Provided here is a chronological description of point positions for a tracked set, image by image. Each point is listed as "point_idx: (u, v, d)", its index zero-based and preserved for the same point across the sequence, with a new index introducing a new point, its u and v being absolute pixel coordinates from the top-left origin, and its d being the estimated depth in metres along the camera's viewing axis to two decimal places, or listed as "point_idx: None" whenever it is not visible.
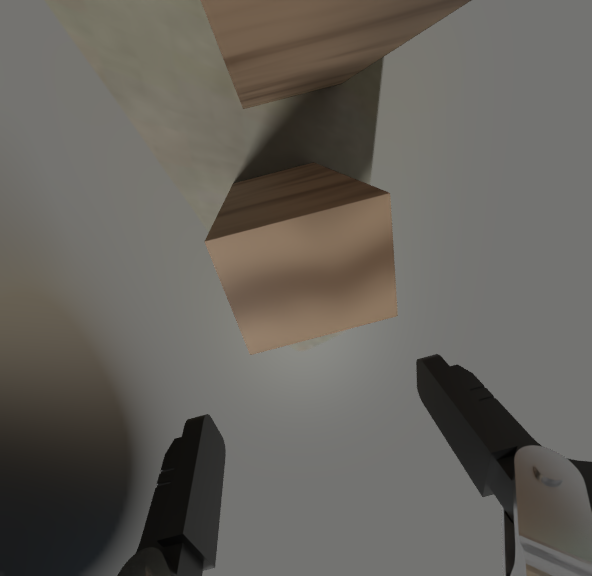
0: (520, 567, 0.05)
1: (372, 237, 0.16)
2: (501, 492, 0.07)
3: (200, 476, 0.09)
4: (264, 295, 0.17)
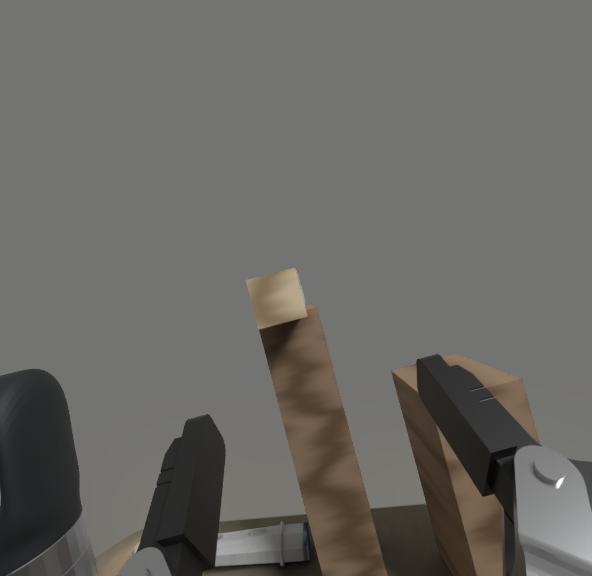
0: (520, 567, 0.05)
1: (412, 368, 0.33)
2: (502, 493, 0.07)
3: (200, 476, 0.09)
4: None
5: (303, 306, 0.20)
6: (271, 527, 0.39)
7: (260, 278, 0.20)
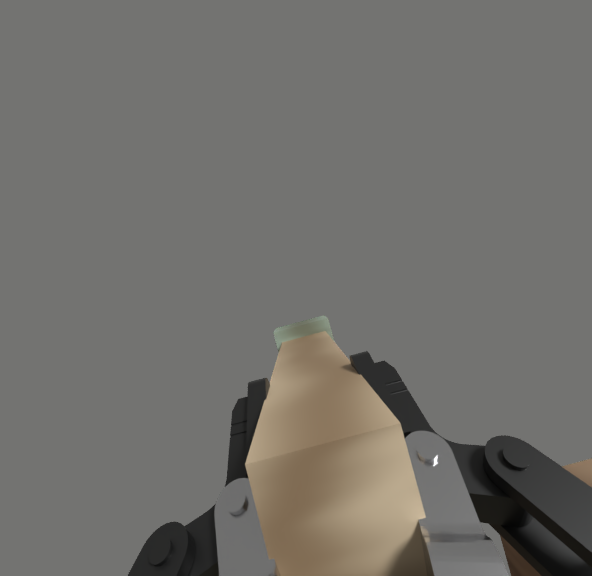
0: (427, 559, 0.06)
1: None
2: None
3: None
4: None
5: None
6: None
7: (291, 457, 0.06)
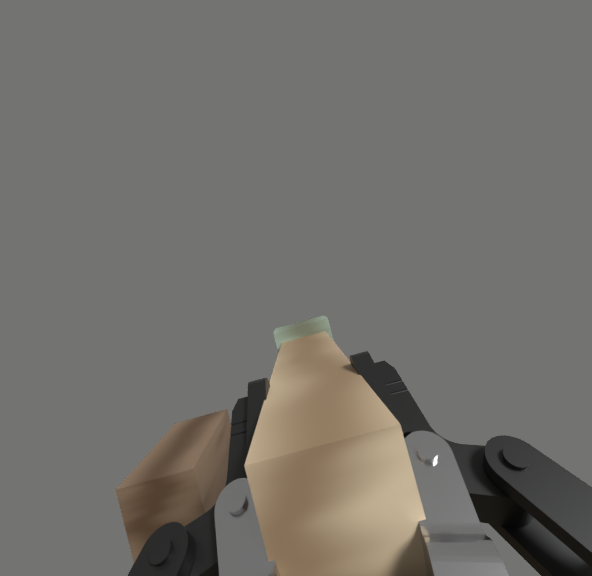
0: (427, 559, 0.06)
1: None
2: None
3: None
4: None
5: None
6: None
7: (290, 458, 0.06)
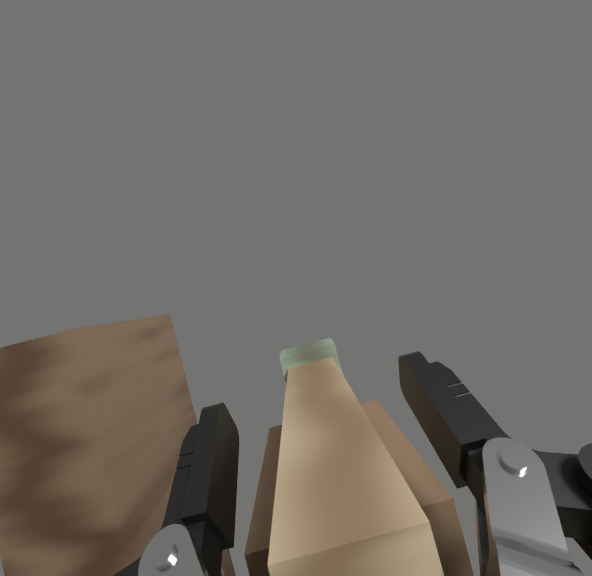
0: (493, 560, 0.05)
1: None
2: (473, 483, 0.08)
3: (218, 460, 0.09)
4: None
5: None
6: None
7: (315, 558, 0.06)
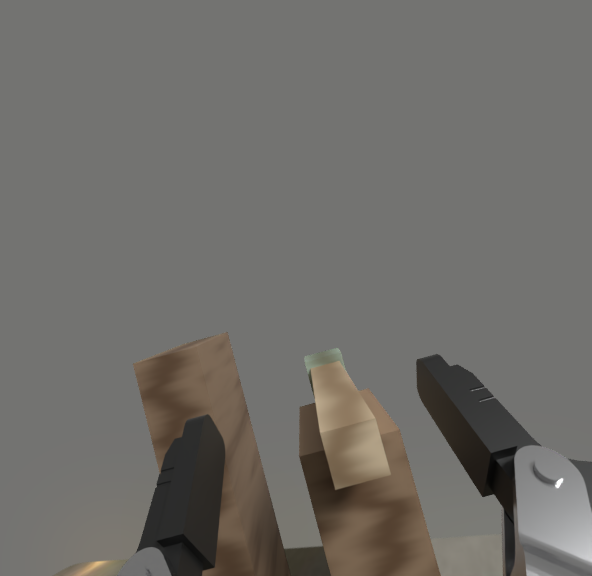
0: (520, 567, 0.05)
1: None
2: (502, 493, 0.07)
3: (200, 476, 0.09)
4: None
5: (386, 463, 0.17)
6: None
7: (336, 430, 0.17)
